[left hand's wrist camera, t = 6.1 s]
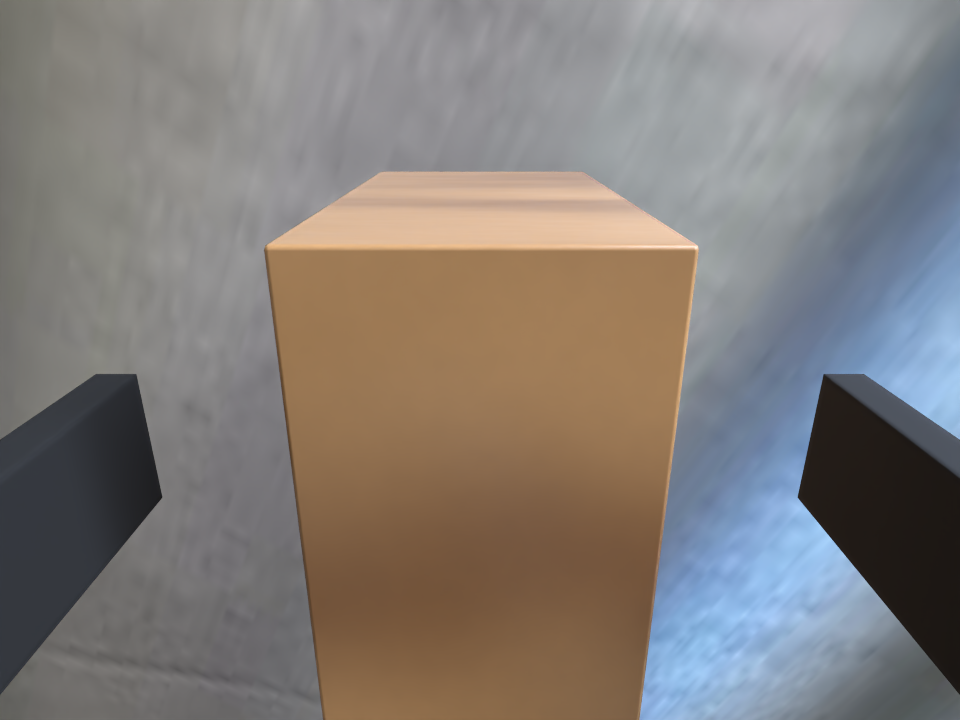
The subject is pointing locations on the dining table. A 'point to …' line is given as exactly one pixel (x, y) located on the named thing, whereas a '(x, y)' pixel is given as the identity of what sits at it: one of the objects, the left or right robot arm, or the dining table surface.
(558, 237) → the long box
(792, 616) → the dining table surface
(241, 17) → the dining table surface
